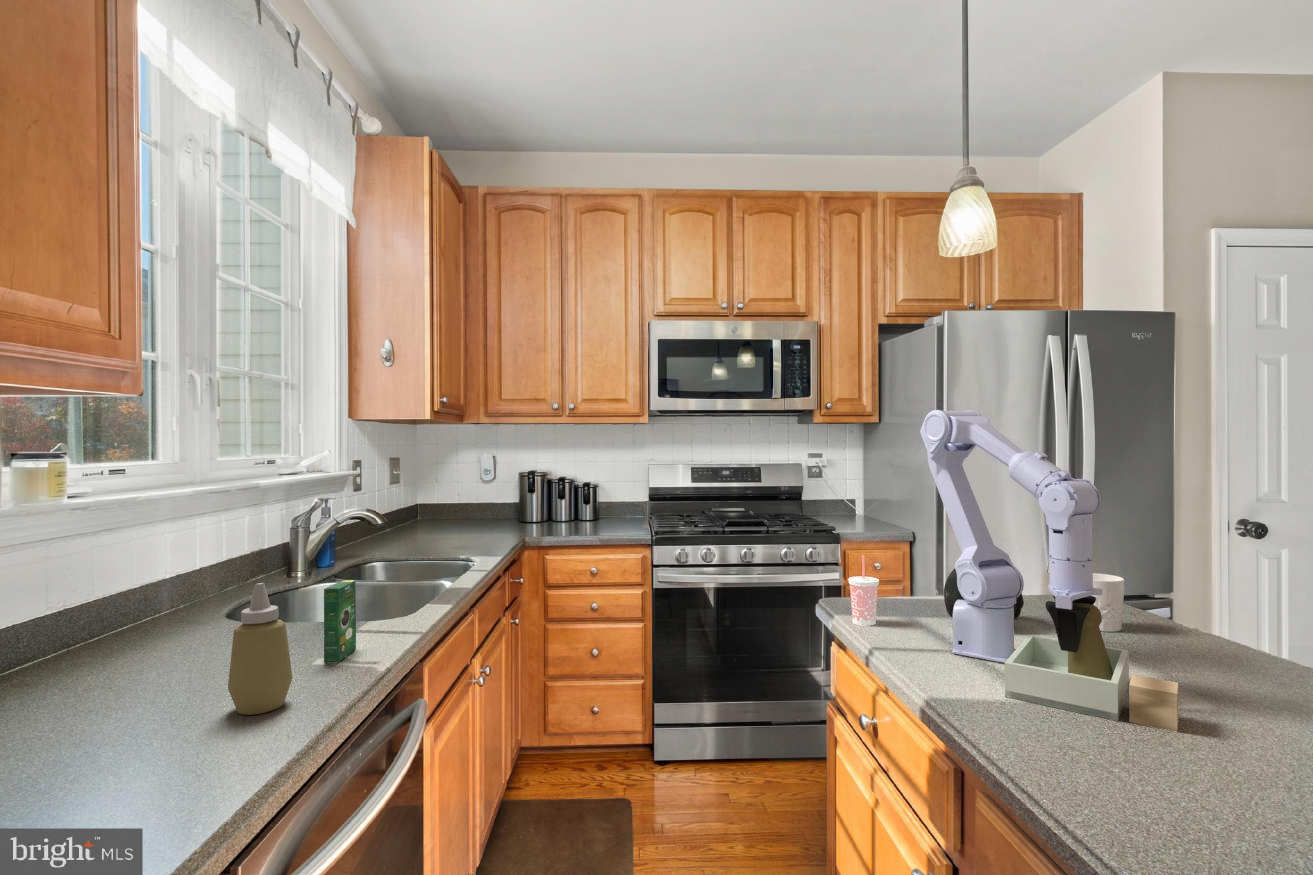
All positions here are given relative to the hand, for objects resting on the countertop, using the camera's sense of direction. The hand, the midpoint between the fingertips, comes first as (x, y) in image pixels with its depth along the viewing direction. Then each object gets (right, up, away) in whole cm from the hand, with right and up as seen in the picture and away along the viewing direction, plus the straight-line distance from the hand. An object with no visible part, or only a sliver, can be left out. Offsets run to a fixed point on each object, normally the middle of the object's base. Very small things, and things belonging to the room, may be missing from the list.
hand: (1071, 646), depth 102 cm
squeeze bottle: (-122, -7, -6) cm, 122 cm away
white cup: (+24, -6, +29) cm, 38 cm away
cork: (+2, -4, -1) cm, 5 cm away
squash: (+3, -6, +33) cm, 34 cm away
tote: (-2, -6, -3) cm, 7 cm away
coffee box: (-121, -7, +17) cm, 122 cm away
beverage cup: (-21, -6, +34) cm, 41 cm away
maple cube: (+2, -6, -14) cm, 15 cm away
